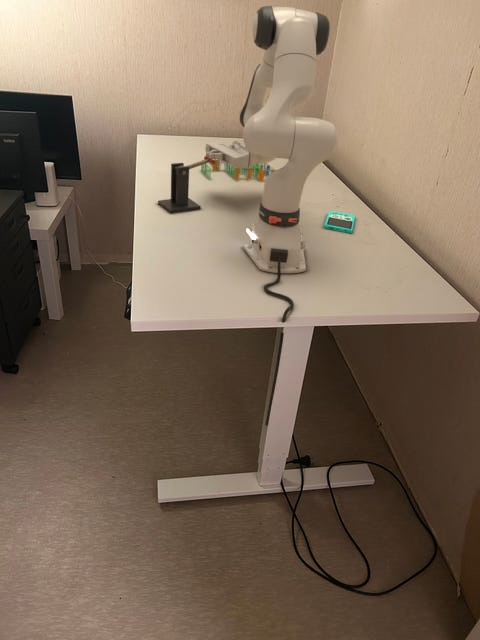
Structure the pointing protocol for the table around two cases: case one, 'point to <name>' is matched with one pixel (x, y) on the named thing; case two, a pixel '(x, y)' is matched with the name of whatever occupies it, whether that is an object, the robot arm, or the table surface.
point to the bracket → (179, 191)
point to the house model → (237, 170)
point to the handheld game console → (340, 222)
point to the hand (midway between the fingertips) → (207, 155)
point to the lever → (198, 163)
